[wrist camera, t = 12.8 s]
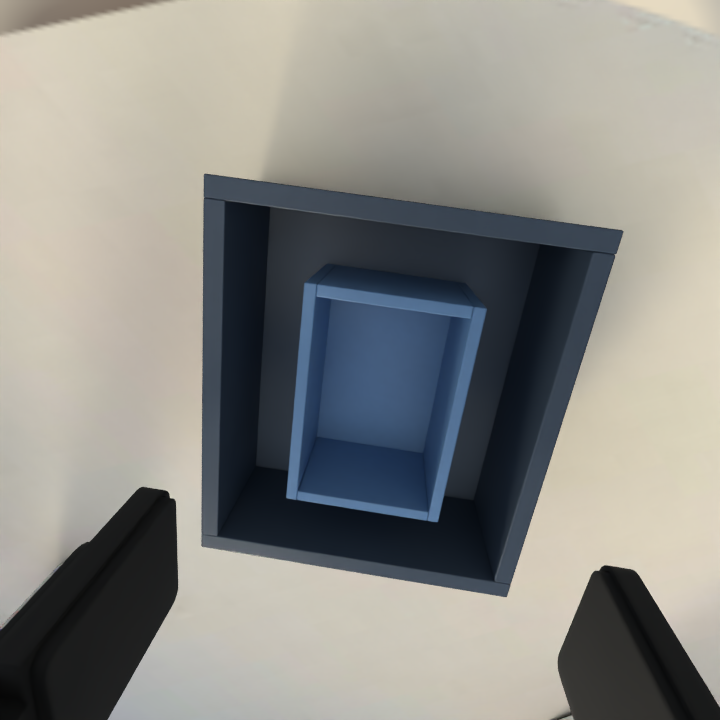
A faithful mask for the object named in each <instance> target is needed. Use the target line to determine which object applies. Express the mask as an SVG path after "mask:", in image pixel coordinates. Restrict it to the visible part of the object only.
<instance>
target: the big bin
mask: <svg viewBox="0 0 720 720" xmlns="http://www.w3.org/2000/svg"><path fill="white" fill-rule="evenodd" d="M204 197H205V198H204V235H203V385H202V547H206V548H212V549H218V550H224V551H230V552H236V553H242V554H248V555H254V556H260V557H266V558H272V559H279V560H285V561H291V562H297V563H303V564H309V565H315V566H321V567H327V568H333V569H339V570H345V571H351V572H357V573H363V574H369V575H375V576H381V577H387V578H393V579H399V580H405V581H411V582H417V583H424V584H430V585H436V586H442V587H448V588H454V589H460V590H466V591H472V592H478V593H484V594H490V595H496V596H502V597H507V595H508V591H509V588H510V584H511V582H512V578H513V575H514V572H515V569H516V566H517V563H518V560H519V556H520V553H521V550H522V547H523V544H524V541H525V538H526V535H527V531H528V528H529V525H530V522H531V519H532V516H533V513H534V509H535V506H536V503H537V500H538V497H539V494H540V491H541V487H542V484H543V481H544V478H545V475H546V472H547V469H548V466H549V462H550V459H551V456H552V453H553V450H554V447H555V444H556V440H557V437H558V434H559V431H560V428H561V425H562V422H563V418H564V415H565V412H566V409H567V406H568V403H569V400H570V397H571V393H572V390H573V387H574V384H575V381H576V378H577V375H578V371H579V368H580V365H581V362H582V359H583V356H584V353H585V350H586V346H587V343H588V340H589V337H590V334H591V331H592V328H593V324H594V321H595V318H596V315H597V312H598V309H599V306H600V302H601V299H602V296H603V293H604V290H605V287H606V284H607V281H608V277H609V274H610V271H611V268H612V265H613V262H614V259H615V255H614V254H616V253H617V250H618V247H619V244H620V241H621V238H622V235H623V231H622V230H616V229H608V228H601V227H594V226H586V225H579V224H572V223H564V222H557V221H550V220H542V219H535V218H528V217H520V216H513V215H505V214H498V213H491V212H483V211H476V210H469V209H461V208H454V207H447V206H439V205H432V204H425V203H417V202H410V201H402V200H395V199H388V198H380V197H373V196H366V195H358V194H351V193H344V192H336V191H329V190H322V189H314V188H307V187H300V186H292V185H285V184H277V183H270V182H263V181H255V180H248V179H241V178H233V177H226V176H219V175H211V174H204ZM326 264H334V265H341V266H348V267H355V268H362V269H369V270H377V271H384V272H391V273H398V274H405V275H412V276H419V277H426V278H433V279H440V280H447V281H454V282H461V283H466V284H467V285H468V286H469V288H470V289H471V290H472V291H473V293H474V294H475V295H476V296H477V297H478V299H479V300H480V301H481V302H482V303H483V305H484V306H485V307H486V308H487V311H486V316H485V320H484V324H483V329H482V333H481V337H480V342H479V346H478V350H477V355H476V359H475V363H474V368H473V372H472V376H471V381H470V385H469V389H468V394H467V398H466V402H465V407H464V411H463V415H462V420H461V424H460V428H459V433H458V437H457V441H456V446H455V450H454V454H453V459H452V463H451V467H450V472H449V476H448V480H447V485H446V489H445V493H444V498H443V502H442V506H441V511H440V515H439V519H438V522H431V521H428V520H426V521H425V520H419V519H413V518H407V517H400V516H394V515H388V514H382V513H375V512H369V511H363V510H357V509H350V508H344V507H338V506H332V505H326V504H319V503H313V502H307V501H301V500H297V499H296V500H294V499H288V498H286V494H287V482H288V470H289V458H290V446H291V435H292V423H293V411H294V399H295V388H296V376H297V364H298V352H299V340H300V329H301V317H302V305H303V293H304V283H305V282H306V281H307V280H308V279H310V278H311V277H312V276H313V275H314V274H315V273H317V272H318V271H319V270H320V269H321V268H322V267H324V266H325V265H326Z"/></svg>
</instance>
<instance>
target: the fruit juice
mask: <svg viewBox="0 0 720 720" xmlns="http://www.w3.org/2000/svg"><path fill="white" fill-rule="evenodd" d="M560 720H574V719H573V716H572V715H571V716H568V717H565V718H562V719H560Z"/></svg>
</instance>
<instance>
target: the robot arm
mask: <svg viewBox="0 0 720 720" xmlns="http://www.w3.org/2000/svg"><path fill="white" fill-rule="evenodd" d="M177 591H178V563H177V526H176V501H175V499H171V498H170V496H169V493H168V491H165V490H159V489H153V488H147V487H141V488H139V489H138V490H137V491H136V492H135V493H134V494H133V495H132V496H131V497H130V498H129V499H128V501H127V502H126V503H125V504H124V505H123V506H122V507H121V508H120V509H119V510H118V512H117V513H116V514H115V515H114V516H113V517H112V518H111V519H110V520H109V521H108V523H107V524H106V525H105V526H104V527H103V528H102V529H101V530H100V531H99V532H98V534H97V535H96V536H95V537H94V538H93V539H92V540H91V541H90V542H86V543H84V544H82V545H81V546H79V547H78V548H77V549H76V550H75V551H74V552H73V553H72V554H71V555H70V556H69V557H68V558H67V560H66V561H65V562H64V563H63V564H62V565H61V566H60V567H59V568H58V569H57V570H56V571H55V572H54V574H53V575H52V576H51V577H50V578H49V579H48V580H47V581H46V582H45V583H44V584H43V585H42V586H41V588H40V589H39V590H38V591H37V592H36V593H35V594H34V595H33V596H32V597H31V598H30V599H29V600H28V602H27V603H26V604H25V605H24V606H23V607H22V608H21V609H20V610H19V611H18V612H17V613H16V614H15V616H14V617H13V618H12V619H11V620H10V621H9V622H8V623H7V624H6V625H5V626H4V627H3V628H2V630H1V631H0V720H107V719H108V718H109V716H110V714H111V712H112V711H113V709H114V707H115V705H116V704H117V702H118V700H119V698H120V697H121V695H122V693H123V691H124V690H125V688H126V686H127V684H128V682H129V681H130V679H131V677H132V675H133V674H134V672H135V670H136V668H137V667H138V665H139V663H140V661H141V660H142V658H143V656H144V654H145V653H146V651H147V649H148V647H149V646H150V644H151V642H152V640H153V638H154V637H155V635H156V633H157V631H158V630H159V628H160V626H161V624H162V623H163V621H164V619H165V617H166V616H167V614H168V612H169V610H170V609H171V607H172V605H173V603H174V601H175V598H176V595H177ZM558 671H559V675H560V678H561V681H562V685H563V688H564V691H565V694H566V697H567V700H568V703H569V706H570V710H571V713H572V716H573V719H574V720H720V707H719V705H718V704H717V702H716V700H715V699H714V697H713V696H712V694H711V692H710V691H709V689H708V687H707V686H706V684H705V683H704V681H703V679H702V678H701V676H700V674H699V673H698V671H697V669H696V668H695V666H694V665H693V663H692V661H691V660H690V658H689V656H688V655H687V653H686V652H685V650H684V648H683V647H682V645H681V643H680V642H679V640H678V638H677V637H676V635H675V634H674V632H673V630H672V629H671V627H670V625H669V624H668V622H667V621H666V619H665V617H664V616H663V614H662V612H661V611H660V609H659V607H658V606H657V604H656V603H655V601H654V599H653V598H652V596H651V594H650V593H649V591H648V589H647V588H646V586H645V585H644V583H643V581H642V580H641V578H640V576H639V575H638V574H637V573H636V572H635V571H634V570H631V569H625V568H619V567H613V566H606V565H604V566H603V567H601V569H600V571H594V572H593V573H592V575H591V577H590V580H589V582H588V585H587V587H586V590H585V592H584V594H583V597H582V599H581V602H580V604H579V607H578V609H577V611H576V614H575V616H574V619H573V621H572V624H571V626H570V628H569V631H568V633H567V636H566V638H565V641H564V643H563V645H562V648H561V650H560V653H559V656H558Z"/></svg>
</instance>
